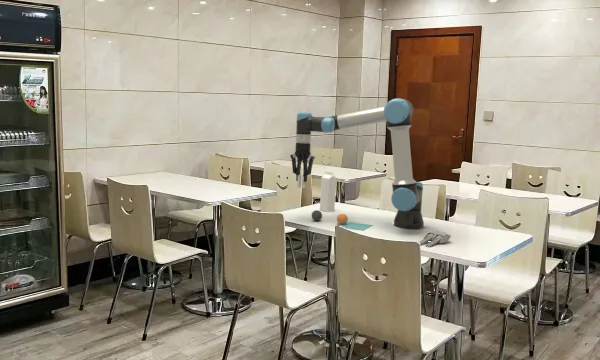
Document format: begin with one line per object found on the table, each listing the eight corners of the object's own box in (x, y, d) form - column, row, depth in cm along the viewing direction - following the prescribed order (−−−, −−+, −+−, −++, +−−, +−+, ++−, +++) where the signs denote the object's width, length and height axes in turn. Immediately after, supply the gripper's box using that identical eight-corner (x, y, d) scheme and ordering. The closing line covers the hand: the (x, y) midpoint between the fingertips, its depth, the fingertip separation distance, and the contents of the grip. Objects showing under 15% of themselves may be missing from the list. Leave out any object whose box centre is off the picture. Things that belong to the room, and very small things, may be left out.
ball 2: (348, 224, 301) (349, 213, 300) (345, 225, 296) (345, 215, 295) (338, 222, 303) (339, 212, 302) (334, 224, 298) (335, 213, 297)
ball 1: (323, 220, 306) (324, 210, 306) (319, 222, 301) (319, 211, 301) (313, 219, 309) (314, 208, 308) (309, 221, 304) (310, 210, 303)
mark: (372, 225, 300) (372, 224, 300) (363, 230, 287) (363, 230, 287) (346, 221, 305) (346, 221, 305) (336, 226, 293) (336, 226, 293)
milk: (327, 212, 329) (329, 173, 326) (319, 210, 333) (321, 171, 330) (334, 210, 334) (336, 172, 330) (326, 209, 338) (328, 171, 335)
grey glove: (412, 249, 265) (412, 239, 264) (434, 235, 279) (434, 226, 278) (432, 253, 259) (432, 243, 257) (453, 239, 273) (453, 230, 272)
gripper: (286, 141, 303) (285, 187, 306) (313, 143, 297) (311, 190, 300) (293, 141, 310) (291, 185, 313) (319, 143, 303) (317, 188, 307)
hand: (301, 187), depth 307 cm, fingers closed
